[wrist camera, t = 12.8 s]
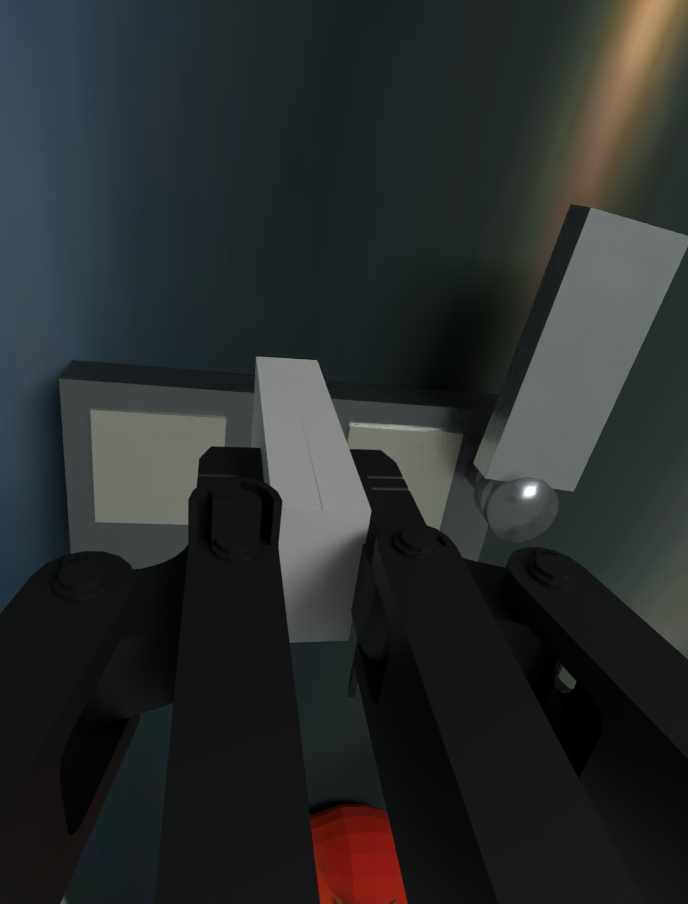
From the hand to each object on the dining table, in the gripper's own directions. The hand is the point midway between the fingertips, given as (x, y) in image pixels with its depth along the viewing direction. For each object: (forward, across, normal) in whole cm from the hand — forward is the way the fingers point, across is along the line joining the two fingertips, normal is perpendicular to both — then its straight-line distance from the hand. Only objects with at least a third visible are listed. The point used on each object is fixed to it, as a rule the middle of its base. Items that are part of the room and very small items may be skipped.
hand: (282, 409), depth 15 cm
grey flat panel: (+14, +16, -4) cm, 22 cm away
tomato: (+18, +10, -52) cm, 56 cm away
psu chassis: (+19, +3, -13) cm, 23 cm away
